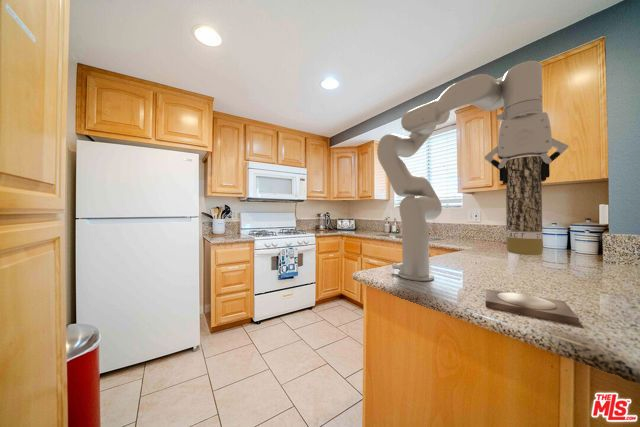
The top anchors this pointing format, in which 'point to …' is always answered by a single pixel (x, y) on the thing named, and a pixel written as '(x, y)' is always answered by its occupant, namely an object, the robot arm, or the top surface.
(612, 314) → the top surface
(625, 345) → the top surface
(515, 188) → the brown cylinder
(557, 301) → the walnut board
